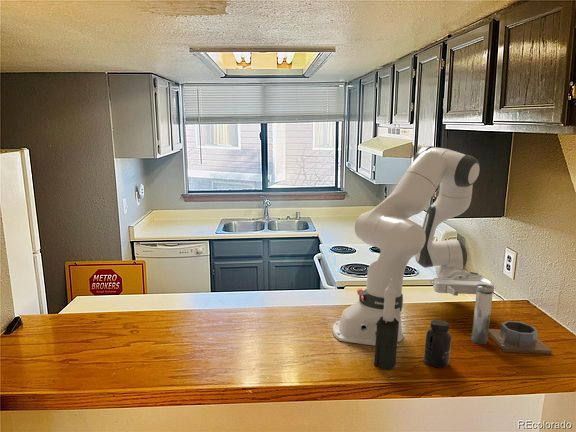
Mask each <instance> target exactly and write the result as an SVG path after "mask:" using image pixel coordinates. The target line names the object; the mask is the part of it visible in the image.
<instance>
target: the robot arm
mask: <svg viewBox="0 0 576 432" xmlns="http://www.w3.org/2000/svg"><path fill="white" fill-rule="evenodd" d="M480 171H481V165H480V162H479V161H478V159H477V157H474V156H473V155H469V154H464V153H462V152H458V151H455V150H452V149H451V148H450V149H449V148H442V147H435V146H434V145H431V146H430V145H426V146H422V147H421V148H420V149H418V150H417V152H416V153H415V155H414V158H413V161H412V162H411V163H410V165H409V167H408V168H407V169H406V171H405V172H404V174H403V175H402V176H401V178H400V180H399V181H398V183H397V184H396V186H395V187H394V188H393V190H392V192H390V194H389V195H388V196H387V197H386V198H385V199H384V200H382V201H381V202H380V203H379V204H378V205H376V206H375V207H373V208H372V209H370V210H368V211H366V212H363V213H361V214H359V216H358V217H357V219H356V221H355V223H354V233H355V236H356V237H357V238H358V239H360V240H361V241H362V242H363V243H365V244H367V245H369V246H372V247H374V248H378V249H379V251H380V253H379V256H378V259H377V260H376V261H375V260H374V261H373V262H372V263H371V264H370V265H369V266H368V267H367V275H366V287H365V289H364V290H363V288H361V287H358V288H357V289H356V293H357V295H358V301H356V302H355V303H353V304H352V305H350V306H348V307H346V308H344V309H343V311H342V314H341V316H340V319H339V320H337V321H335V322H334V324H333V325H332V333H333V335H334V337H335V339H337V340H338V341H339V342H345V343H354V344H360V345H369V346H373V347H374V346H375V344H376V331H377V321H378V320H380V317H382V316H383V311H384V298H385V290H386V288H387V287H388V285H389V283H390V279H393V281H392V282H393V286H394V289H395V290H396V298H395V311H394V318H395V319H396V320H397V321H399V328H398V340H397V343H398V342H401V341H402V340H403V339H404V332H403V327H402V310H403V303H404V295H403V294H402V293H403V284H404V283H403V282H404V275H405V271H406V267H407V265H408V263H409V262H410V260H411V259H412V258H413V257H414V258H415V262H416V263H417V264H419V266H421V267H423V268H426V269H427V268H431V267H432V268H433V267H435V273H436V275H437V277H434V278H433V279H430V280H429V283H430V284H431V285H433V286H432V287H433V290H434V292H435V293H438V294H451V295H452V296H454V297H455V296H458V295H459V294H463V295H465V294H466V295H476V293H477V290H476V287H477V285H478V284H486V285H490V286H493V287H494V288H495V286H494V284H493V283H492V282H491V281H490V280H488V279H487V278H485V277H483V275H482V273H479V272H474V271H473V272H472V271H468V270H465V267H466V266H467V262H468V252H467V249H466V247H465V246H464V243H462V241H460V240H459V239H444V240H434V237H435V233H436V229H437V228H438V226H439V225H440V224H442V223H444V222H446V221H447V220H449V219H452V218H455V217H458V216H460V215H461V214H464V213H465V212H466V211H468V209H469V208H470V205H471V202H472V199H473V198H472V197H473V185H474V184H475V182H477V180H478V177H479V175H480ZM438 187H439V189H438ZM437 189H438V191H439V192H438V194H437V198H435V200H434V202H433V203H432V204H430V205H429V206H428V208H427V211H426V213H425V217H424V220H423V224H422V226H421V225H420V224H418V223H417V222H415V221H413V220H411V219H409V218H411V217H412V216H416V215H418V214H420V213H422V212H423V211H424V210H425V208H426V207H427V205H428V204H429V202H430V200H431V199H432V197H433V196H434V194H435V192H436V190H437Z"/></svg>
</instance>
